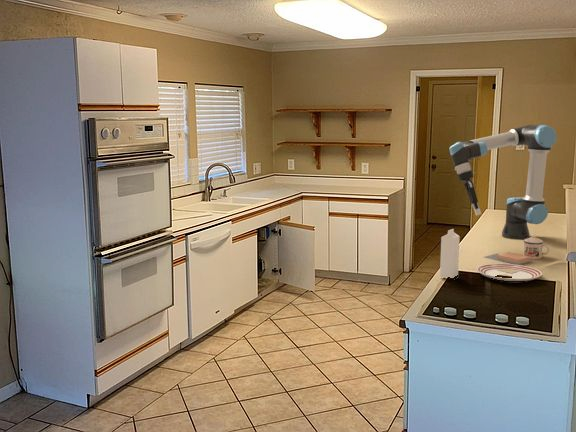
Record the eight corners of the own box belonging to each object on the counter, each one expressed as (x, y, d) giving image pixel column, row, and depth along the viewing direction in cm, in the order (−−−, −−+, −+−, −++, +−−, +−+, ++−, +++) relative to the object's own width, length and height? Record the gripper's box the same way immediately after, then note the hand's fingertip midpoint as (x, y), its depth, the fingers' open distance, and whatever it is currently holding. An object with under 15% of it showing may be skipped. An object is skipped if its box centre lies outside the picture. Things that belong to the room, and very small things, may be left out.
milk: (458, 277, 263) (460, 229, 259) (452, 280, 258) (454, 231, 254) (445, 275, 267) (447, 227, 263) (439, 278, 262) (441, 229, 258)
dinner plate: (470, 268, 278) (471, 261, 277) (531, 269, 275) (531, 262, 274) (483, 285, 251) (483, 278, 251) (550, 287, 248) (550, 279, 248)
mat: (482, 258, 294) (482, 257, 294) (497, 255, 301) (497, 253, 301) (518, 267, 278) (518, 265, 278) (533, 263, 285) (533, 261, 285)
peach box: (497, 254, 289) (519, 259, 279) (508, 252, 294) (530, 256, 284) (497, 259, 289) (518, 264, 279) (508, 256, 294) (530, 261, 284)
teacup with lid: (521, 259, 292) (522, 236, 290) (524, 255, 300) (525, 232, 298) (547, 262, 286) (548, 238, 284) (549, 257, 294) (551, 235, 292)
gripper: (456, 176, 316) (470, 217, 314) (458, 172, 304) (473, 216, 301) (469, 171, 315) (483, 213, 313) (473, 168, 303) (488, 211, 300)
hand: (478, 214), depth 307 cm, fingers closed
